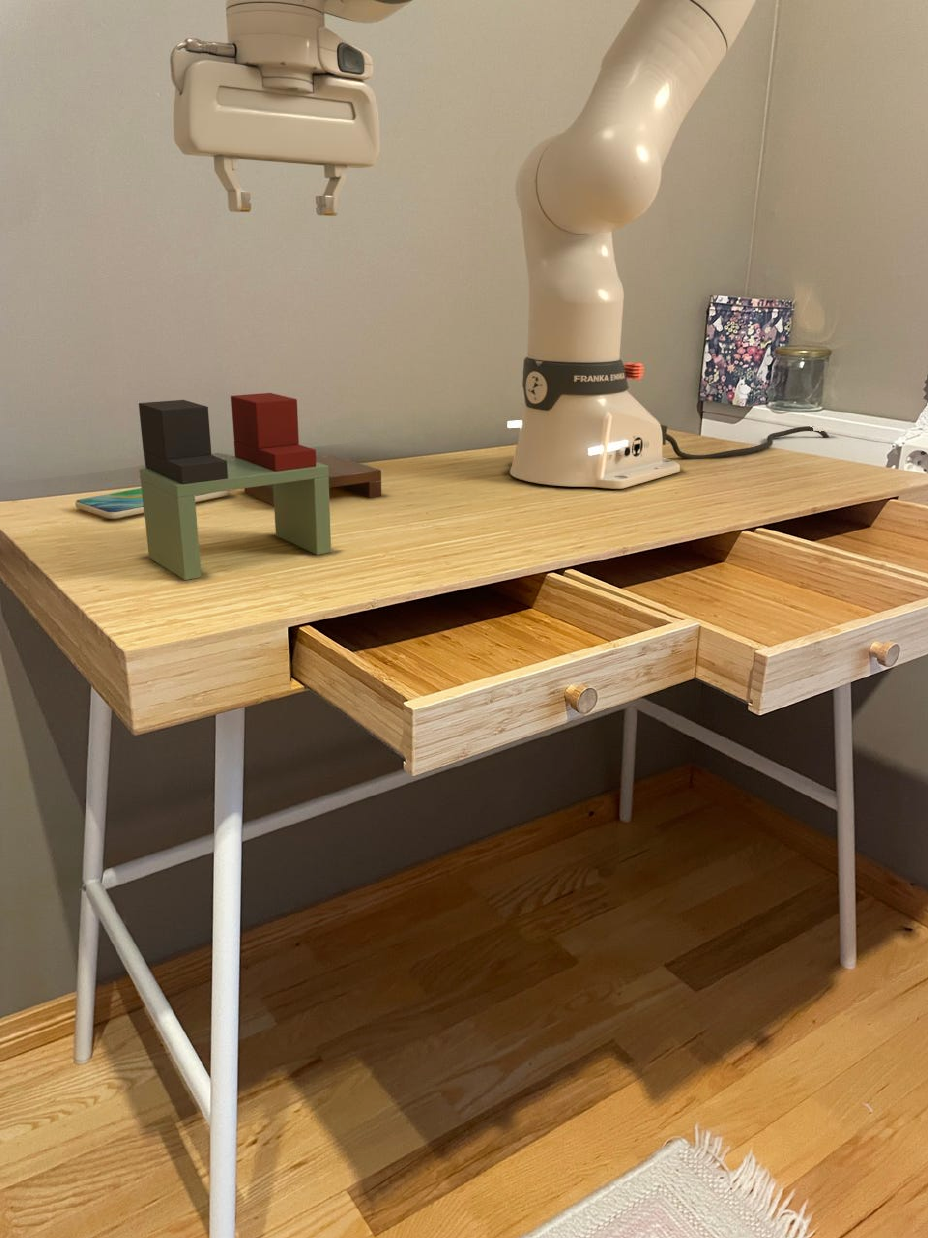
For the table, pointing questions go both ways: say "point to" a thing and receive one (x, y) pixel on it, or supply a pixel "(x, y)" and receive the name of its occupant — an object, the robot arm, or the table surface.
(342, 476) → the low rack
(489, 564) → the table surface
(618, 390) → the robot arm
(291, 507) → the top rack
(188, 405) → the dark stepped block
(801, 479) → the table surface
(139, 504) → the smartphone
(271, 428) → the red l-shaped step block
